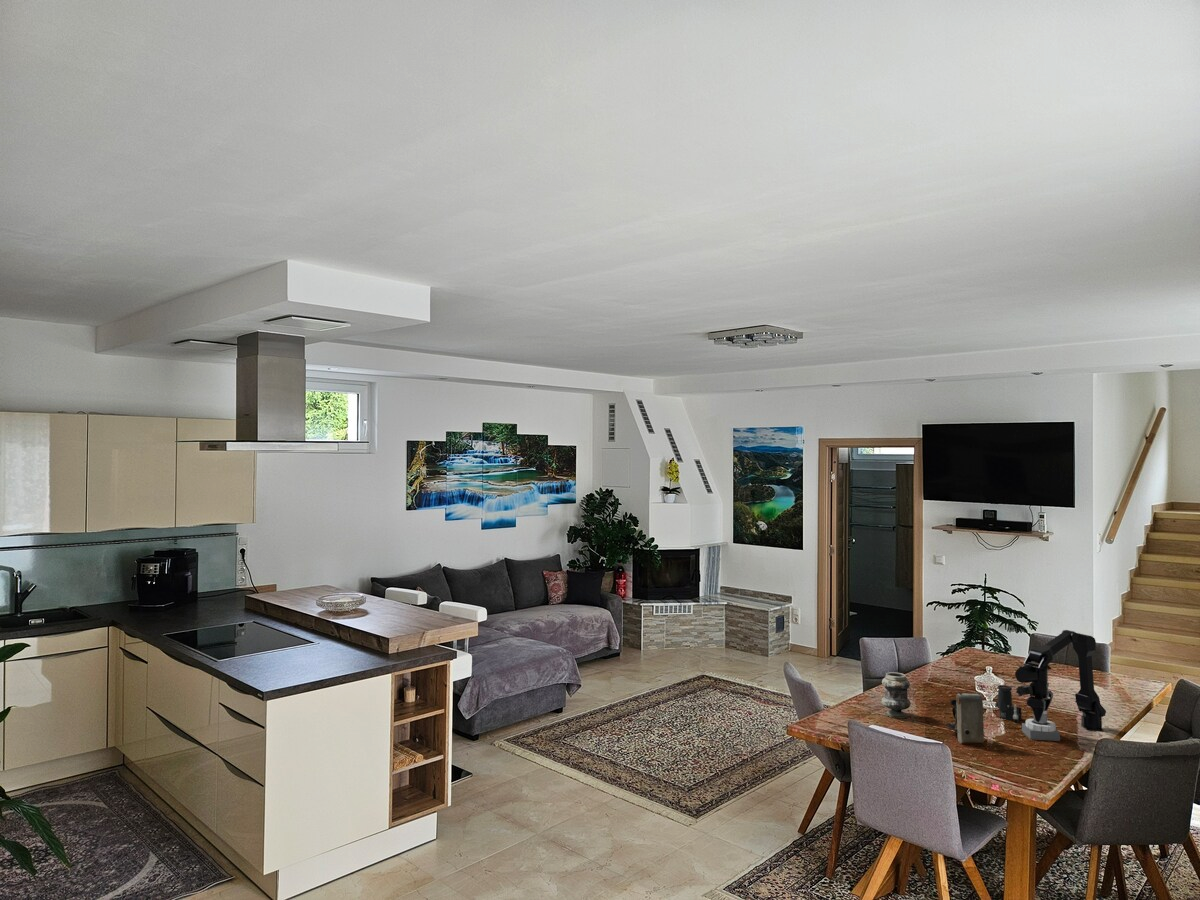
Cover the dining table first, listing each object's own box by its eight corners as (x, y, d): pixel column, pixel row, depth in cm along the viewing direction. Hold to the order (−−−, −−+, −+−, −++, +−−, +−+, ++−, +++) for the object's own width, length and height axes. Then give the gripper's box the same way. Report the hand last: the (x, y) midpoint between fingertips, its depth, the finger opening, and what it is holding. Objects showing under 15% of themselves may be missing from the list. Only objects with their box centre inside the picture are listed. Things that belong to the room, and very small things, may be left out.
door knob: (1035, 724, 326) (1034, 707, 326) (1048, 727, 323) (1048, 710, 323) (1032, 727, 323) (1032, 710, 323) (1046, 730, 319) (1045, 712, 319)
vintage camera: (966, 733, 328) (963, 684, 329) (985, 744, 312) (983, 693, 314) (943, 733, 327) (941, 685, 329) (961, 745, 312) (959, 694, 313)
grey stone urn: (909, 712, 355) (908, 671, 355) (912, 720, 343) (911, 678, 344) (880, 709, 358) (880, 670, 358) (882, 717, 346) (882, 676, 347)
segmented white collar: (1050, 732, 327) (1050, 719, 327) (1060, 741, 316) (1060, 727, 317) (1021, 731, 329) (1021, 717, 329) (1030, 739, 318) (1030, 725, 319)
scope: (1016, 691, 339) (991, 686, 346) (1017, 723, 338) (992, 718, 345) (1022, 687, 345) (998, 683, 352) (1023, 719, 344) (998, 714, 351)
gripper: (1023, 672, 336) (1023, 709, 335) (1012, 681, 321) (1012, 720, 321) (1053, 677, 328) (1053, 715, 328) (1043, 686, 314) (1043, 726, 314)
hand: (1040, 718), depth 323 cm, fingers open, 9 cm apart
